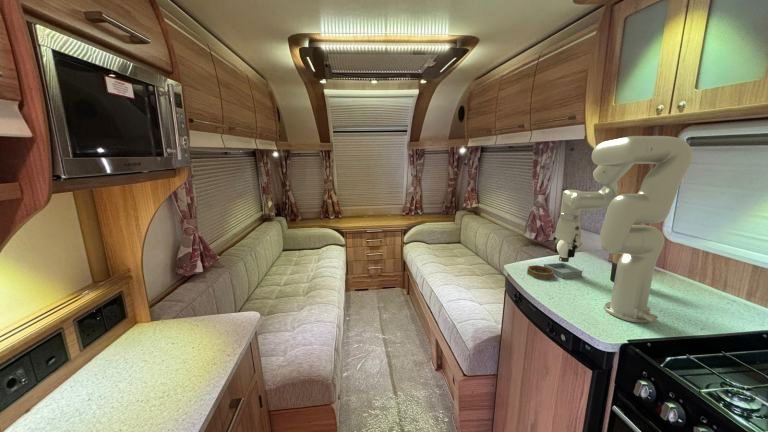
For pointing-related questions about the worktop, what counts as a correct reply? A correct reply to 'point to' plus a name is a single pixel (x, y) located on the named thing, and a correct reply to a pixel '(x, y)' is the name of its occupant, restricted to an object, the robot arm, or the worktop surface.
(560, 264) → the tray
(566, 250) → the light bulb
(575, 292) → the worktop surface
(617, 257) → the travel mug
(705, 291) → the worktop surface
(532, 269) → the holder ring
